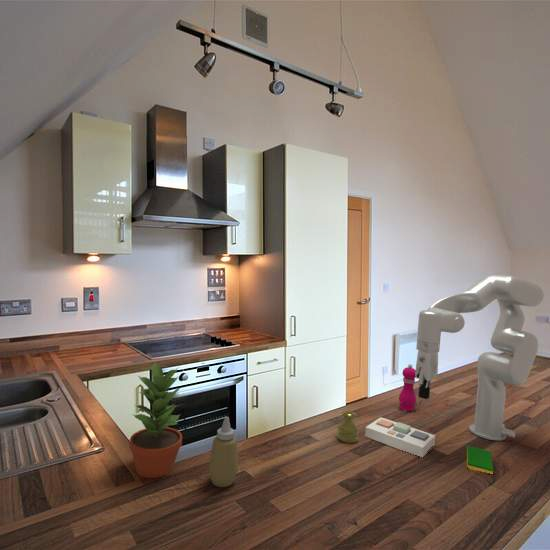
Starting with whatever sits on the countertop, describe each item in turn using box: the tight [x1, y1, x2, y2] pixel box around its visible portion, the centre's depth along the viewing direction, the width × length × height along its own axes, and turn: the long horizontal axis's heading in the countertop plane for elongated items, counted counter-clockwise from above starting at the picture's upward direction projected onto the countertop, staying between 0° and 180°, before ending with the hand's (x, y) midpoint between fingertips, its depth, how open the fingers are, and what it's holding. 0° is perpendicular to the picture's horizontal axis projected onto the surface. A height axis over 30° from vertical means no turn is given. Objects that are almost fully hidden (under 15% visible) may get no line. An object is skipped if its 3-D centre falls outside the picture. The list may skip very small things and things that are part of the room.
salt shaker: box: [336, 409, 360, 444], centre depth 140 cm, size 7×7×10 cm
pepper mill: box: [398, 363, 417, 412], centre depth 173 cm, size 7×7×20 cm
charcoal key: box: [411, 430, 428, 441], centre depth 138 cm, size 5×5×3 cm
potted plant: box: [128, 360, 183, 479], centre depth 112 cm, size 15×15×30 cm
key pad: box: [364, 417, 436, 458], centre depth 141 cm, size 21×13×4 cm, turn 51°
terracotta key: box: [377, 419, 394, 429], centre depth 146 cm, size 5×5×3 cm
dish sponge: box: [466, 445, 494, 474], centre depth 129 cm, size 7×14×2 cm, turn 154°
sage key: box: [393, 422, 411, 435], centre depth 142 cm, size 5×5×3 cm
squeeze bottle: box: [208, 416, 239, 488], centre depth 108 cm, size 8×8×18 cm
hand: (423, 397), depth 138 cm, fingers closed
